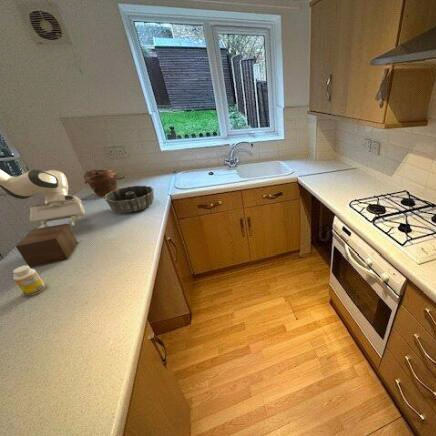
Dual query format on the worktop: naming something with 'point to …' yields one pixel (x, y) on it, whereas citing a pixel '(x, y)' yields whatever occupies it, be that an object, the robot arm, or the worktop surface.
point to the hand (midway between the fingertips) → (59, 227)
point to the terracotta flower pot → (101, 181)
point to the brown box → (47, 245)
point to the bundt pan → (130, 198)
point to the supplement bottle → (28, 280)
